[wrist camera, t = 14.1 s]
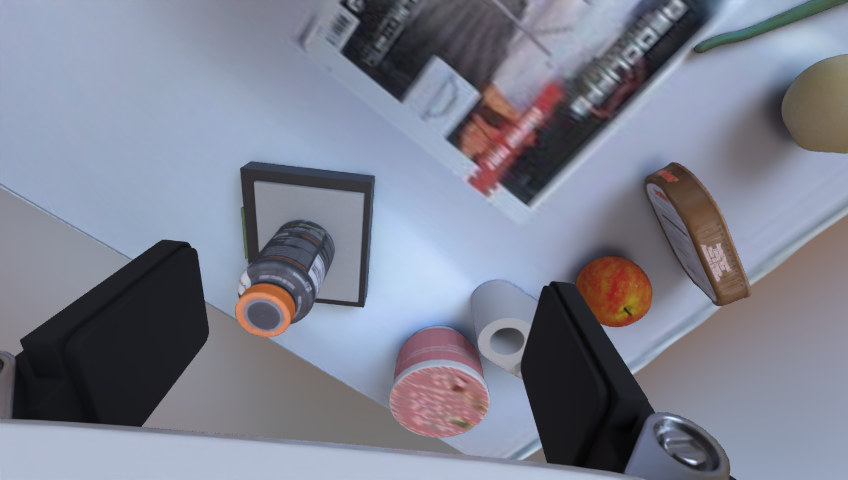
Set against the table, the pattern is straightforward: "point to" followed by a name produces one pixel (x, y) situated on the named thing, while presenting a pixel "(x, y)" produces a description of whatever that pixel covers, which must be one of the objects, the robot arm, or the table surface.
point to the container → (438, 384)
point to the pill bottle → (284, 278)
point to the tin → (697, 233)
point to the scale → (313, 219)
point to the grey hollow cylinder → (502, 322)
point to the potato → (819, 106)
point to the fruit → (615, 290)
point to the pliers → (769, 24)
